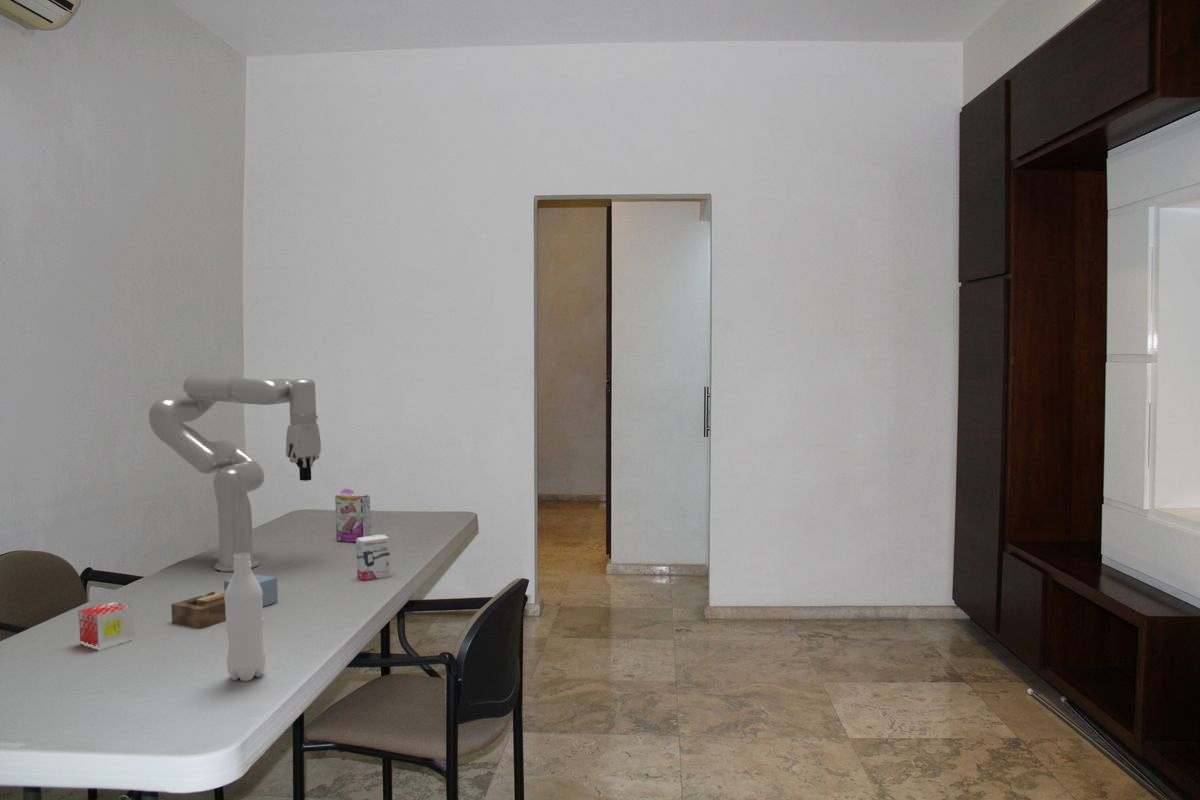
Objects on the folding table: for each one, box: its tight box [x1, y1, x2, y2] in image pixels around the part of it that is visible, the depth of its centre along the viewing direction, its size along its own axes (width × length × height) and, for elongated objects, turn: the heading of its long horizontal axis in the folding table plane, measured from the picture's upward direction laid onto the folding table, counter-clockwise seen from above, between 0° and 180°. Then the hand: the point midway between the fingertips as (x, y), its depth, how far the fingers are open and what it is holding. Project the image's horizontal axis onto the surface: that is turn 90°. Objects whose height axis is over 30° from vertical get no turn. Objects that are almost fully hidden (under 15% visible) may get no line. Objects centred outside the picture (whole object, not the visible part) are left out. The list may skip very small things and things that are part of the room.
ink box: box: [355, 534, 391, 582], centre depth 247 cm, size 8×5×12 cm, turn 123°
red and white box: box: [78, 601, 135, 647], centre depth 194 cm, size 8×8×8 cm
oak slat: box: [197, 590, 225, 606], centre depth 217 cm, size 4×16×5 cm, turn 151°
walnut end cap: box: [170, 591, 226, 629], centre depth 211 cm, size 12×12×4 cm
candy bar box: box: [335, 493, 372, 543], centre depth 296 cm, size 11×5×16 cm, turn 71°
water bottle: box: [224, 553, 266, 682], centre depth 171 cm, size 7×7×25 cm
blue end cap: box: [223, 573, 279, 608], centre depth 222 cm, size 10×8×6 cm
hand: (305, 480), depth 258 cm, fingers closed
